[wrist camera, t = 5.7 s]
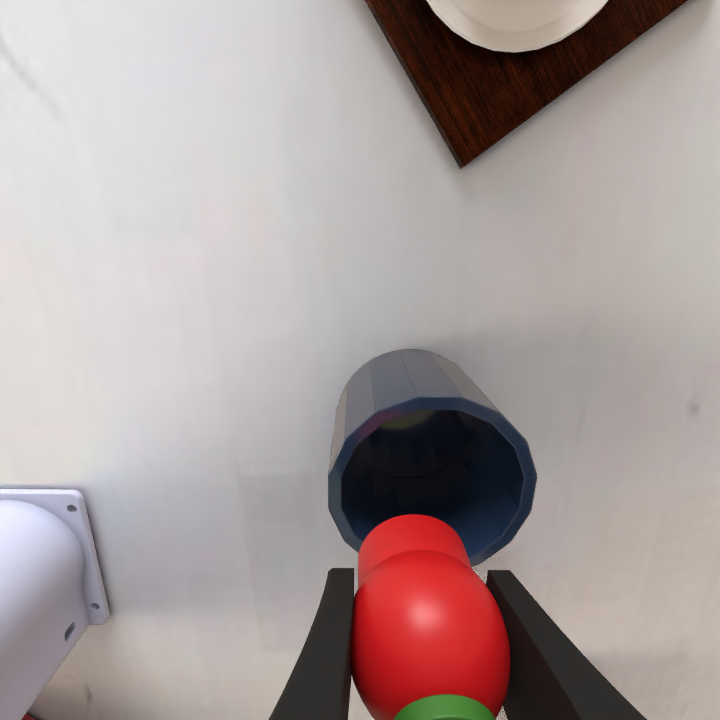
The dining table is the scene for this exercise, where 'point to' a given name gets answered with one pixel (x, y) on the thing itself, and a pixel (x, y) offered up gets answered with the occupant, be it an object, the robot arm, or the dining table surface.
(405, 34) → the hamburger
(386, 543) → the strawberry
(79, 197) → the dining table surface
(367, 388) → the tumbler
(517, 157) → the dining table surface
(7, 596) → the robot arm
